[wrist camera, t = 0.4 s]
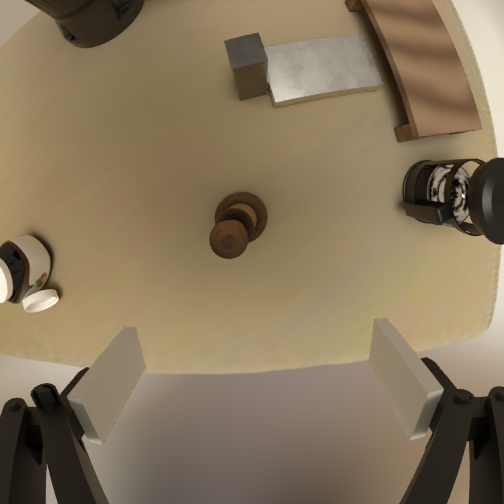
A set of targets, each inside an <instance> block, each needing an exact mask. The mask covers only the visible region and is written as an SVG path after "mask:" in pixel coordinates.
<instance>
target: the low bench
mask: <svg viewBox="0 0 504 504" xmlns="http://www.w3.org/2000/svg"><path fill="white" fill-rule="evenodd" d="M345 4H346V6H347V8H348V10H349V12H358V11H362V9H363V7H364V8H365V10H366V12H367V14H368V16H369V18H370V20H371V22H372V24H373V26H374V28H375V31H376V33H377V35H378V37H379V40H380V42H381V44H382V47H383V49H384V51H385V54H386V56H387V59H388V61H389V64H390V66H391V69H392V71H393V74H394V77H395V80H396V82H397V85H398V88H399V91H400V94H401V97H402V100H403V103H404V106H405V110H406V113H407V116H408V120H409V124H406V125H403V126H401V127H398V128H395V129H394V131H395V134H396V138H397V142H403V141H409V140H413V139H417V138H422V137H426V136H433V135H440V134H448V133H449V135H450V134H458V133H464V132H469V131H475V130H480V129H482V126H481V122H480V118H479V114H478V111H477V107H476V104H475V101H474V98H473V94H472V91H471V88H470V85H469V82H468V80H467V77H466V74H465V71H464V69H463V66H462V64H461V61H460V59H459V56H458V54H457V51H456V49H455V47H454V44H453V42H452V40H451V38H450V35H449V33H448V31H447V29H446V27H445V25H444V23H443V21H442V19H441V17H440V15H439V13H438V11H437V9H436V8H435V6H434V4H433V2H432V0H346V1H345Z"/></svg>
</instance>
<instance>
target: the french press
mask: <svg viewBox="0 0 504 504" xmlns="http://www.w3.org/2000/svg"><path fill="white" fill-rule="evenodd" d="M468 161H474V162H476V163H478V164H480V166H478V168H477V169H476V170H475V171H474V173H473V175H472V177H469V175H468V173H467V172H466V170H465V169H464V168H463V167H461V166H462V165H463V164H464V163H466V162H468ZM425 169H433V172H432V173H431V175H430V177H429V180H428V183H427V188H426V199H419V198H416V194H415V189H416V182H417V179H418V176H419V174H420V173H421V171H422V170H425ZM403 199H404V203H403V206H404V209H405V212H406V215H407V216H410V217H414V218H415V219H417V220H418V221H420V222H423V223H428V224H435V225H446V226H451V227H455V228H456V229H457V230H459V231H460V232H462V233H465V234H468V235H471V236H480V235H485V237H486V238H487V239H488V240H489V241H491V242H493V243H495V244H500V245H502V244H504V158H494V159H491V160H490V161H489V162H486V163H485V162H484V161H482V160H479V159H456V160H442V161H431V160H423V161H420V162H417V163H416V164H414V165H413V166H412V167H411V168H410V169H409V170H408V172H407V174H406V176H405V178H404V182H403ZM468 215H470V218H471V221H472V223H473V224H471V223H467V222H464V221H465V219H466V218H467V217H468ZM466 231H468V232H471V233H468V232H466Z"/></svg>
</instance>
